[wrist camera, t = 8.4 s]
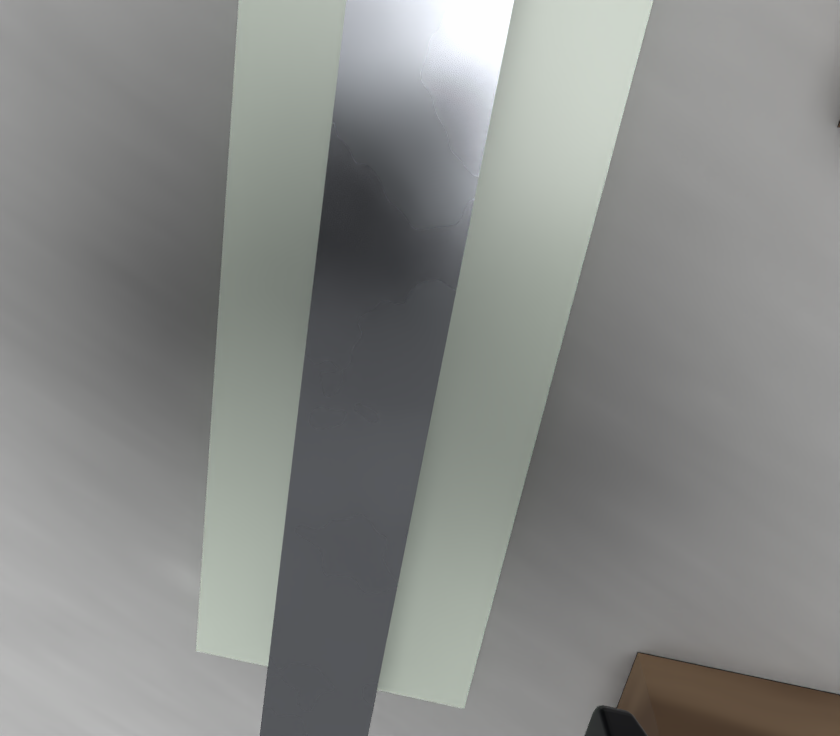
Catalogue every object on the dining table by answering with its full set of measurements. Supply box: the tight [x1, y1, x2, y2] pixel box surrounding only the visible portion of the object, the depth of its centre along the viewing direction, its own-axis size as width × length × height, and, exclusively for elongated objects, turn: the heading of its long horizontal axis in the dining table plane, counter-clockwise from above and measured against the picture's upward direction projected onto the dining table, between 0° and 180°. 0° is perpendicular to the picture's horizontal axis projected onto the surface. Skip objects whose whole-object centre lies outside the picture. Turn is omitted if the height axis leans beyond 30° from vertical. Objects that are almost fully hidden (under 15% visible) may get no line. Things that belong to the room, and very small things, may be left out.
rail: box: [260, 0, 514, 736], centre depth 17 cm, size 22×3×3 cm, turn 170°
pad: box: [196, 0, 653, 709], centre depth 18 cm, size 23×9×1 cm, turn 170°
